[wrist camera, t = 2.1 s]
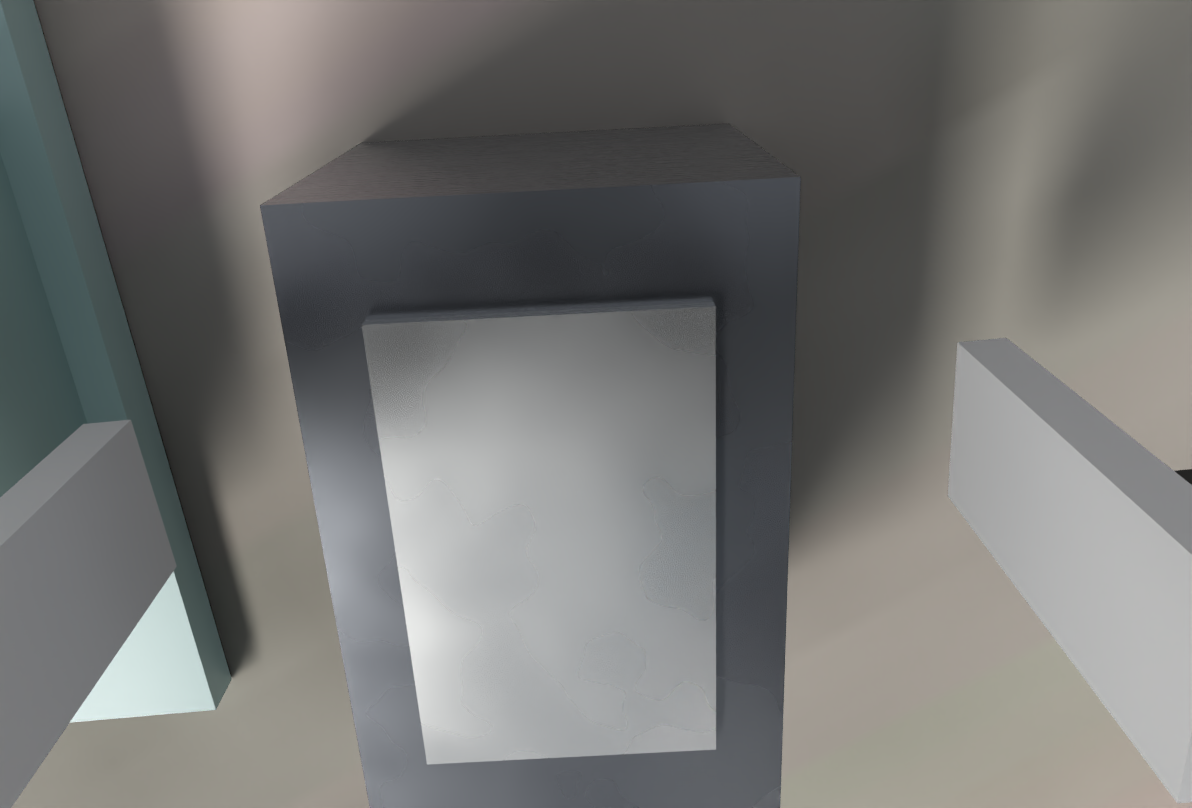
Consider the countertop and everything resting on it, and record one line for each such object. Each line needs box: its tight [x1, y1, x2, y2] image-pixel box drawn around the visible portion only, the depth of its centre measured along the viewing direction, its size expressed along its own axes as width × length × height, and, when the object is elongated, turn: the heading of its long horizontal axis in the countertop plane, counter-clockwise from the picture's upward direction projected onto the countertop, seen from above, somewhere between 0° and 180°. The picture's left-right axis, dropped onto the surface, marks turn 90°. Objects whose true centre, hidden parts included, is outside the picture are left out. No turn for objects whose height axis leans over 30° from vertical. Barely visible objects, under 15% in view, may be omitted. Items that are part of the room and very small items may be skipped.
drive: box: [260, 124, 801, 808], centre depth 16 cm, size 10×6×6 cm, turn 3°
